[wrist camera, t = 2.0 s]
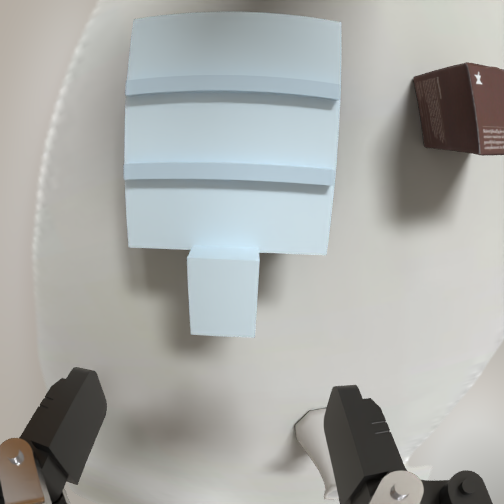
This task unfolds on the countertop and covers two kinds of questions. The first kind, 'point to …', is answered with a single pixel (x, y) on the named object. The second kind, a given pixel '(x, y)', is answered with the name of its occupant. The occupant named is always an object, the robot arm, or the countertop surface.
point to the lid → (231, 149)
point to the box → (462, 108)
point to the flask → (317, 448)
